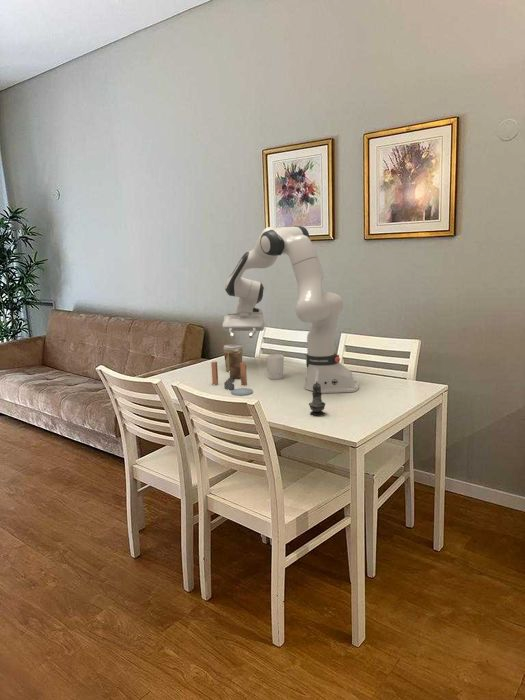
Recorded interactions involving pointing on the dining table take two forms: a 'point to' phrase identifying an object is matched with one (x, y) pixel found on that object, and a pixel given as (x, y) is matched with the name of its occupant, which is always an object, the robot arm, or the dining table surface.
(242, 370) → the wire course
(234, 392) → the pad
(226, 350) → the coffee cup
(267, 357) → the white cup
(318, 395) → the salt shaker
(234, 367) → the block
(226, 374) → the dining table surface
